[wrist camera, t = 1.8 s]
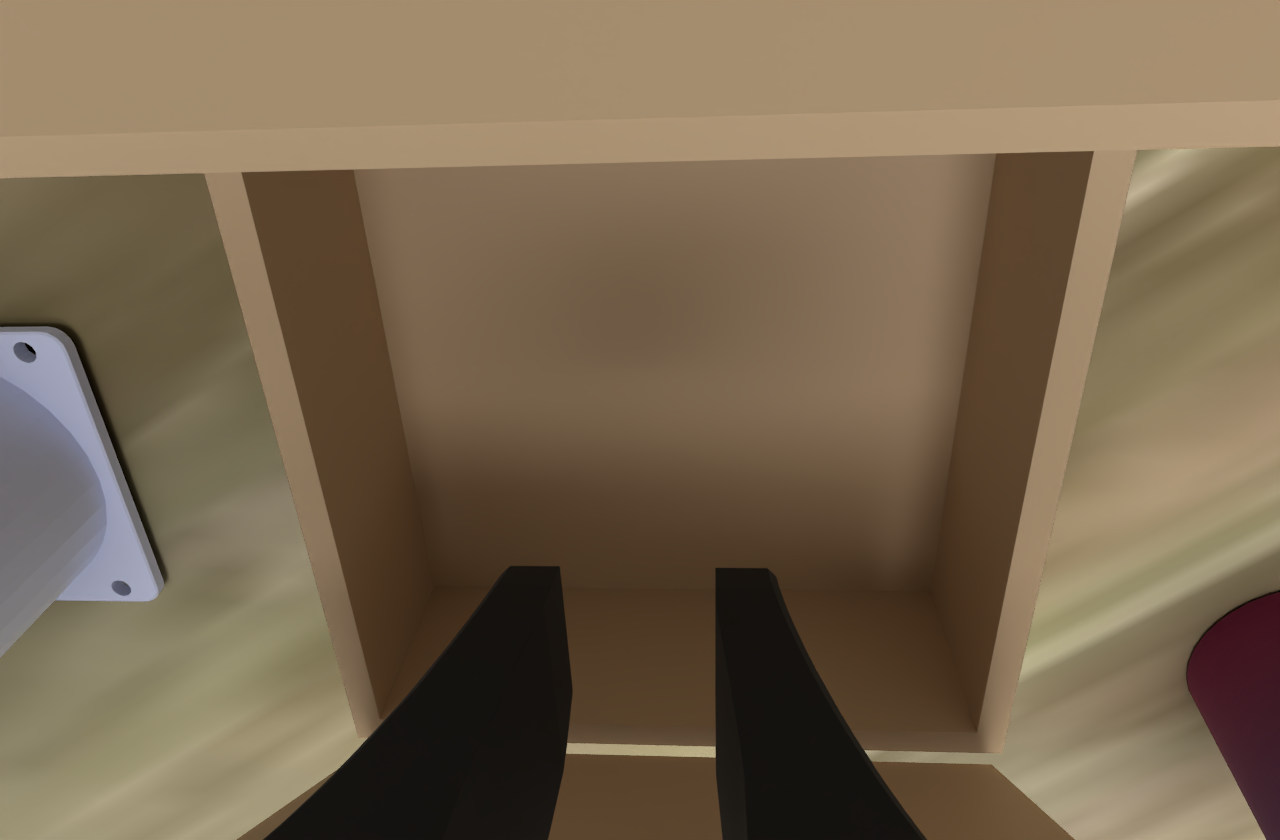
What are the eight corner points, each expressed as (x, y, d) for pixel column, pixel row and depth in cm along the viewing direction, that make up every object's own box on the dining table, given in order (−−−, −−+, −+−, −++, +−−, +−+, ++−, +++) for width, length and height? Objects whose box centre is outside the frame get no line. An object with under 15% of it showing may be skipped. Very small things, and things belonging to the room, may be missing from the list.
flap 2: (367, 749, 20) (366, 772, 20) (184, 875, 13) (182, 912, 13) (991, 764, 19) (991, 789, 19) (1155, 911, 12) (1156, 951, 12)
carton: (420, 591, 25) (358, 737, 20) (257, -213, 16) (86, -260, 11) (947, 597, 24) (1002, 753, 19) (1087, -262, 15) (1245, -333, 10)
